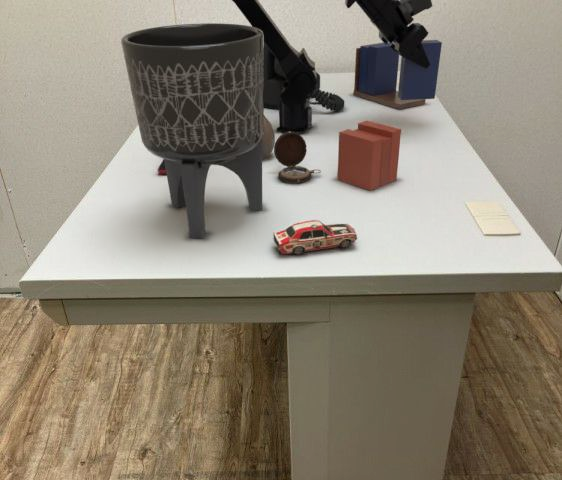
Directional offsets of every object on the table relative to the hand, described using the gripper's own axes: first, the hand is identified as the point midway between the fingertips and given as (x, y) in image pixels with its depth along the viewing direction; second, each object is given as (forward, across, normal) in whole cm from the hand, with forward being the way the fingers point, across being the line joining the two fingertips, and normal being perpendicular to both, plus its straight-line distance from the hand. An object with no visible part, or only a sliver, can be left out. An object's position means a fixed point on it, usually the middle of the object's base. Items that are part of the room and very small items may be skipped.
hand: (425, 64), depth 129 cm
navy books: (+6, +28, +10) cm, 30 cm away
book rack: (+8, +24, +10) cm, 27 cm away
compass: (-13, -28, +31) cm, 44 cm away
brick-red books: (-4, -32, +22) cm, 39 cm away
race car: (-14, -58, +32) cm, 68 cm away
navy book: (+4, 0, +6) cm, 7 cm away
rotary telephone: (-9, +28, +27) cm, 40 cm away
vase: (-18, -16, +36) cm, 43 cm away
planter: (-24, -44, +43) cm, 66 cm away
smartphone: (-28, -16, +47) cm, 57 cm away
